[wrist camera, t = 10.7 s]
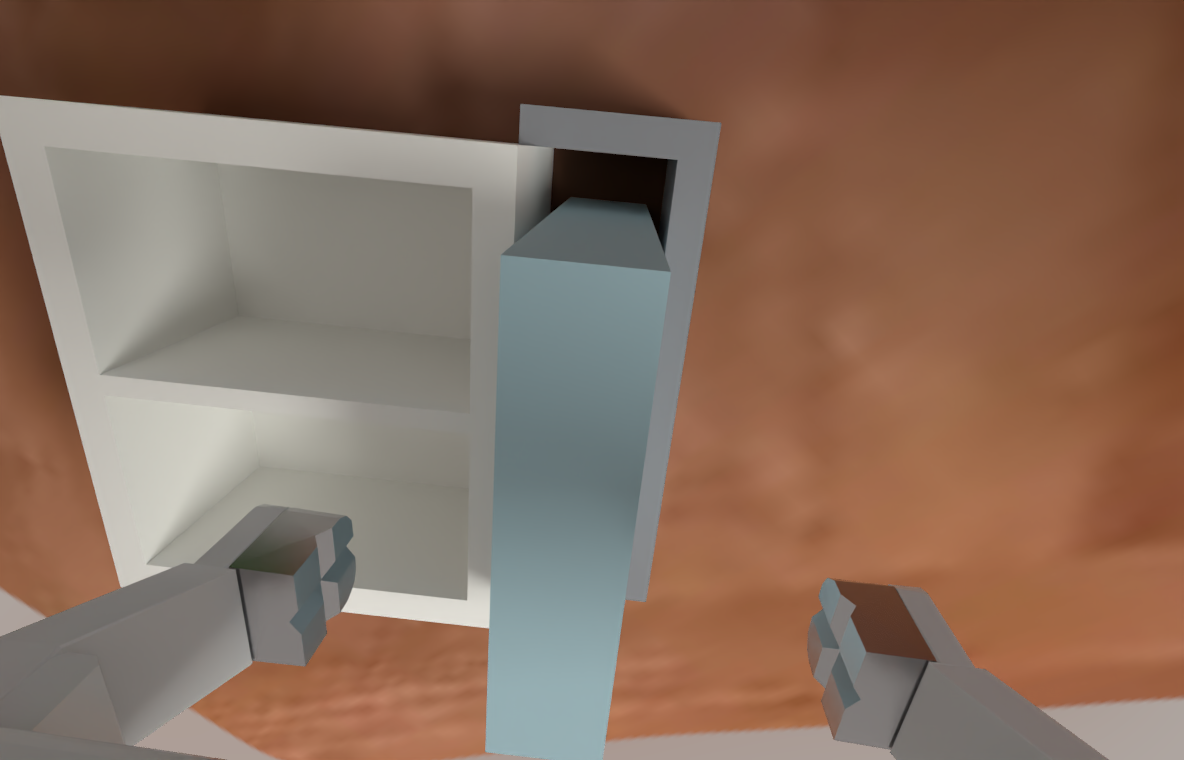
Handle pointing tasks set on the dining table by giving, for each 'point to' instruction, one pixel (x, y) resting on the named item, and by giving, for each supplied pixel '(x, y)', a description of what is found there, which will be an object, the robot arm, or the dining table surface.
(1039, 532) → the dining table surface
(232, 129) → the cabinet
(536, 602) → the door
